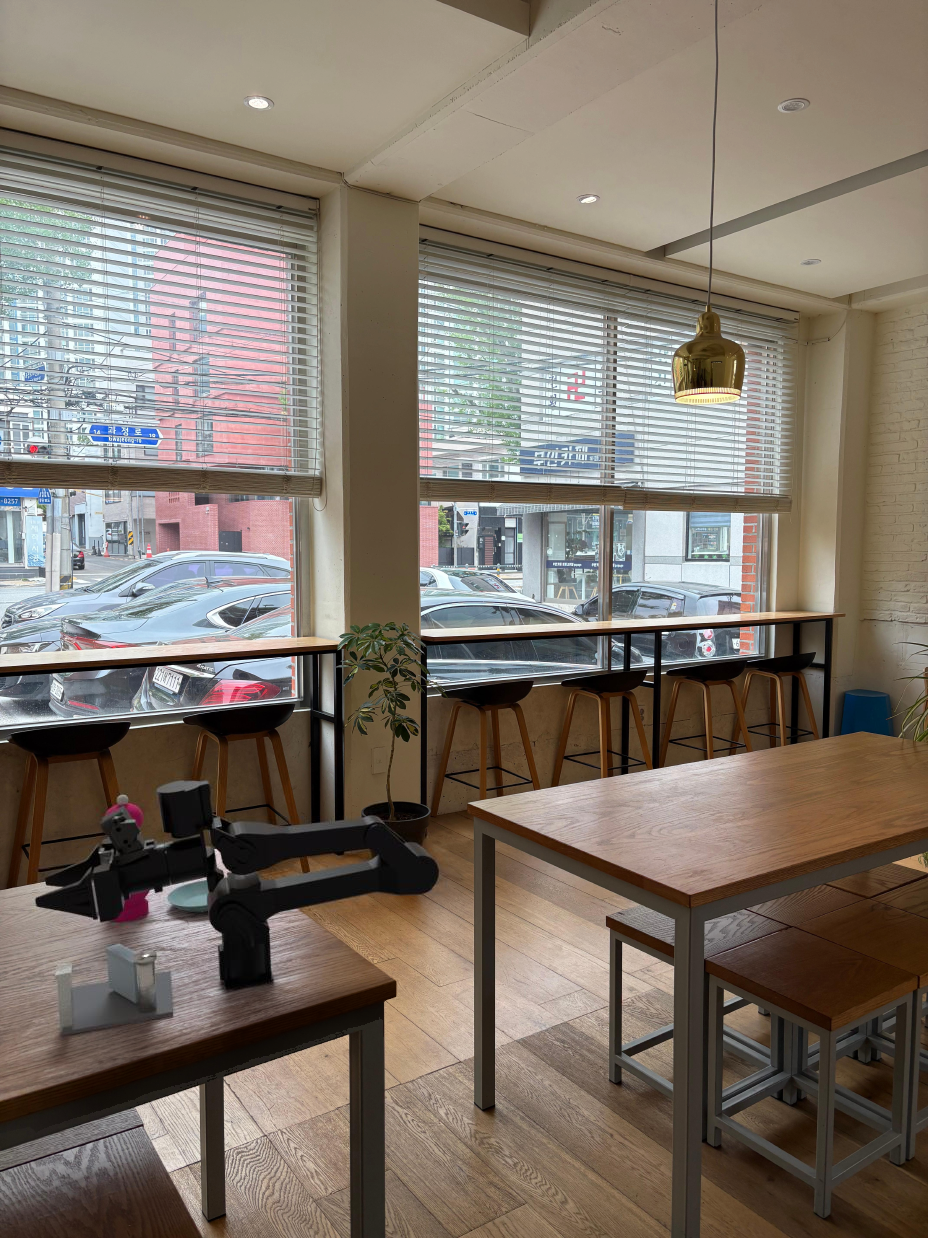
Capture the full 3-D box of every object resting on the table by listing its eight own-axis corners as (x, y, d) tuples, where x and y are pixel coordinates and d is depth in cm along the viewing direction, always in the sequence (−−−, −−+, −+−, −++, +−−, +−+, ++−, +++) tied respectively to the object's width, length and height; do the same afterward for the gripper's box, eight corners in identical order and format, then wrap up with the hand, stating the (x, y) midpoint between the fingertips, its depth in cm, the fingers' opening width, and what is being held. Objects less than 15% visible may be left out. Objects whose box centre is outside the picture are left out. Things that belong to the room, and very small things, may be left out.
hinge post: (159, 1005, 117) (156, 949, 116) (159, 1015, 114) (156, 958, 113) (136, 1009, 116) (133, 952, 115) (136, 1020, 113) (133, 961, 113)
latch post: (76, 1019, 114) (73, 961, 113) (74, 1032, 111) (70, 972, 110) (60, 1022, 113) (57, 964, 112) (58, 1035, 110) (54, 975, 109)
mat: (170, 974, 125) (170, 971, 125) (172, 1015, 114) (172, 1011, 114) (69, 991, 121) (69, 988, 121) (61, 1036, 110) (61, 1032, 110)
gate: (147, 998, 117) (145, 957, 116) (134, 1004, 115) (132, 962, 115) (120, 983, 121) (118, 943, 121) (107, 988, 120) (105, 948, 119)
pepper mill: (136, 925, 143) (129, 801, 141) (95, 922, 144) (88, 800, 143) (160, 907, 150) (154, 789, 148) (121, 904, 151) (115, 788, 150)
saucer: (170, 924, 143) (169, 910, 143) (165, 898, 154) (164, 885, 154) (245, 911, 148) (244, 898, 147) (235, 887, 158) (235, 875, 158)
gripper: (159, 791, 128) (40, 814, 123) (157, 819, 110) (19, 848, 105) (170, 867, 128) (53, 893, 124) (171, 908, 111) (34, 940, 106)
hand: (40, 891), depth 115 cm, fingers open, 9 cm apart
